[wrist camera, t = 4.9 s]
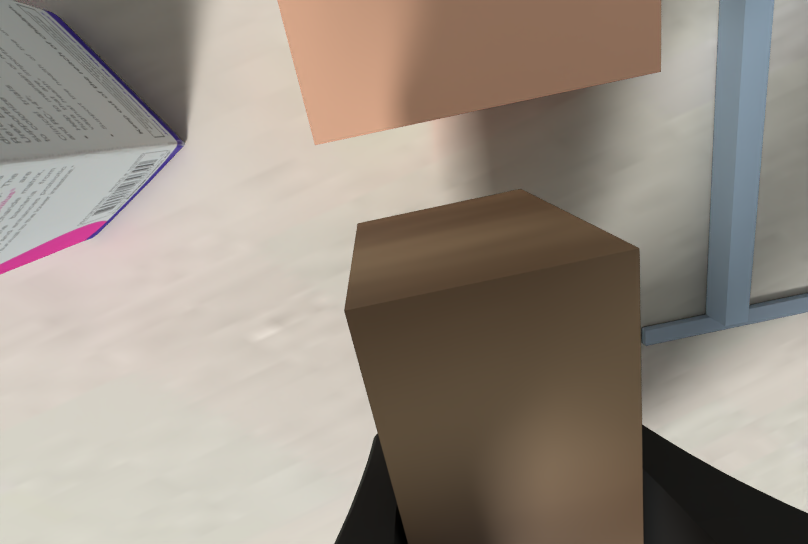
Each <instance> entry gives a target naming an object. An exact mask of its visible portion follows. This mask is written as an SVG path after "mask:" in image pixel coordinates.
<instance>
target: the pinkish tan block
mask: <svg viewBox="0 0 808 544" xmlns="http://www.w3.org/2000/svg"><path fill="white" fill-rule="evenodd" d="M277 1H278V4H279V8H280V12H281V16H282V20H283V24H284V27H285V31H286V35H287V39H288V43H289V47H290V51H291V54H292V58H293V62H294V66H295V70H296V74H297V77H298V81H299V85H300V89H301V93H302V97H303V101H304V104H305V108H306V112H307V116H308V120H309V124H310V127H311V131H312V135H313V139H314V143H315V145H318V144H323V143H327V142H332V141H337V140H341V139H346V138H351V137H356V136H360V135H365V134H370V133H374V132H379V131H384V130H388V129H393V128H398V127H403V126H407V125H412V124H417V123H421V122H426V121H431V120H436V119H440V118H445V117H450V116H454V115H459V114H464V113H469V112H473V111H478V110H483V109H487V108H492V107H497V106H502V105H506V104H511V103H516V102H520V101H525V100H530V99H534V98H539V97H544V96H549V95H553V94H558V93H563V92H567V91H572V90H577V89H582V88H586V87H591V86H596V85H600V84H605V83H610V82H615V81H619V80H624V79H629V78H633V77H638V76H643V75H648V74H652V73H657V72H661V0H277Z"/></svg>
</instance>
